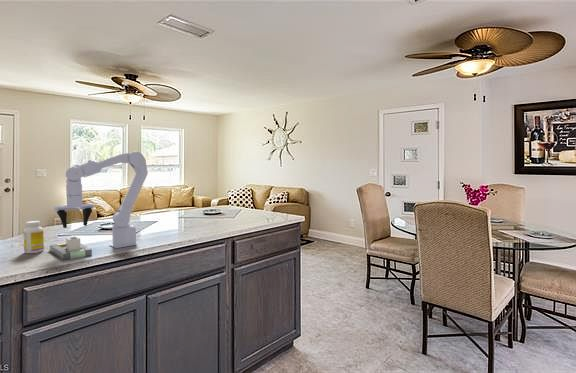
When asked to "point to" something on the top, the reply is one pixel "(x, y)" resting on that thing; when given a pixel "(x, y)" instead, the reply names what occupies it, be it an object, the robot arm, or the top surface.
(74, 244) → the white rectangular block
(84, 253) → the panel
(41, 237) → the supplement bottle
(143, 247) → the top surface
